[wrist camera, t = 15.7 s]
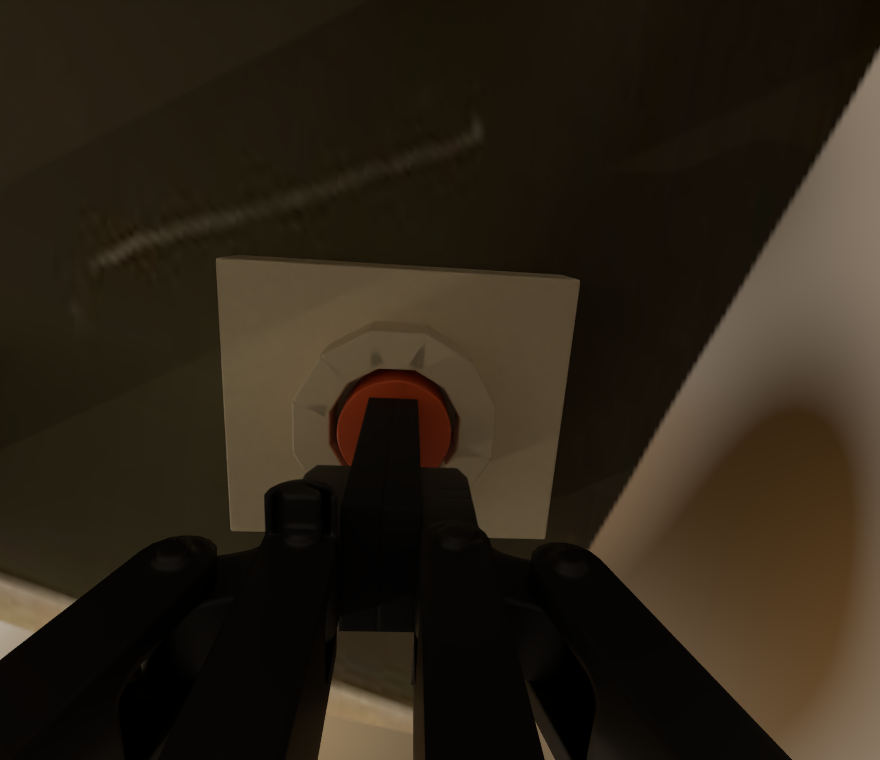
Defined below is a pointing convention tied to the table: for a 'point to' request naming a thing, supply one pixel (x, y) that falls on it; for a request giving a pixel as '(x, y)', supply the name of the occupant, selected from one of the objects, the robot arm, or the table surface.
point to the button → (400, 387)
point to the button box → (395, 347)
